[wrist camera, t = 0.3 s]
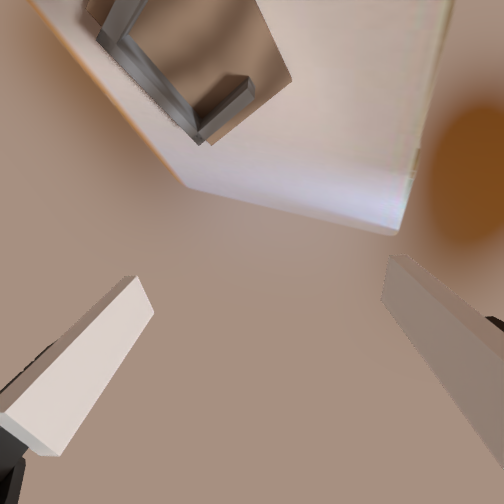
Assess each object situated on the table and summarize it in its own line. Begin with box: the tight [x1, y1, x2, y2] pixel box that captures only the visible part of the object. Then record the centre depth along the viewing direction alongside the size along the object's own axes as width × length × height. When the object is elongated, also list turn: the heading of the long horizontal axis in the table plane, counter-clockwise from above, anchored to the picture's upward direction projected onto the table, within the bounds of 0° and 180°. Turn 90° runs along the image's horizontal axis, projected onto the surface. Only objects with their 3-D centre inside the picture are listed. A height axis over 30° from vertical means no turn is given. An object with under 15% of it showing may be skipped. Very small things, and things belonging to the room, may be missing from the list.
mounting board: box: [86, 0, 292, 146], centre depth 26 cm, size 20×16×5 cm
